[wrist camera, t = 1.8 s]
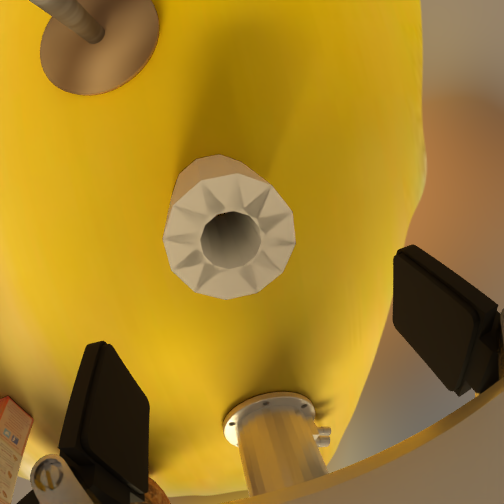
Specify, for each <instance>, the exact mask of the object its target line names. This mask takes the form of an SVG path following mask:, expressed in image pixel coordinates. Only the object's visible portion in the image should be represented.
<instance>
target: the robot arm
mask: <svg viewBox="0 0 504 504" xmlns="http://www.w3.org/2000/svg"><path fill="white" fill-rule="evenodd" d="M497 307H498V304H496V303H495V302H494V301H492V300H491V299H490V298H488V297H487V296H486V295H485V294H483V293H482V292H481V291H479V290H478V289H477V288H475V287H474V286H473V285H471V284H470V283H468V282H467V281H466V280H464V279H463V278H462V277H460V276H459V275H458V274H456V273H455V272H453V271H452V270H450V269H449V268H447V267H446V266H445V265H444V264H442V263H441V262H439V261H438V260H436V259H435V258H433V257H432V256H431V255H429V254H428V253H426V252H425V251H423V250H422V249H420V248H419V247H417V246H416V245H409V246H407V247H404V248H401V249H399V250H398V251H397V254H396V255H395V256H394V259H393V323H394V326H395V328H396V329H397V330H398V332H399V333H400V334H401V335H402V336H403V337H404V338H405V339H406V341H407V342H408V343H409V344H410V345H411V346H412V347H413V349H414V350H415V351H416V352H417V353H418V354H419V356H420V357H421V358H422V359H423V360H424V361H425V363H427V365H428V366H429V367H430V368H431V370H432V371H433V372H434V373H435V374H436V376H437V377H438V378H439V379H440V380H441V382H442V383H443V384H444V385H445V386H446V388H447V389H448V390H450V391H454V392H455V393H456V394H457V395H458V396H461V395H463V394H464V393H465V392H467V391H468V390H470V389H471V387H472V388H473V390H474V391H475V398H474V399H473V400H471V401H469V402H468V403H467V404H465V405H463V406H462V407H461V408H459V409H457V410H456V411H454V412H453V413H451V414H449V415H448V416H446V417H445V418H443V419H441V420H440V421H438V422H436V423H435V424H433V425H431V426H430V427H428V428H426V429H424V430H423V431H421V432H419V433H417V434H415V435H413V436H412V437H410V438H408V439H406V440H404V441H402V442H400V443H398V444H396V445H395V446H392V447H390V448H388V449H386V450H384V451H382V452H380V453H378V454H375V455H373V456H371V457H369V458H366V459H364V460H362V461H360V462H357V463H355V464H352V465H350V466H348V467H345V468H343V469H340V470H337V471H335V472H332V473H328V470H327V468H326V466H325V463H324V461H323V458H322V456H321V454H320V451H319V449H318V447H327V446H328V445H329V444H330V437H329V435H330V434H331V428H330V427H317V426H316V425H315V423H314V419H315V409H314V407H313V404H312V403H311V401H310V400H309V399H308V398H307V397H305V396H303V395H301V394H297V393H293V392H273V393H267V394H263V395H259V396H256V397H253V398H251V399H248V400H246V401H244V402H243V403H241V404H239V405H238V406H236V407H235V408H234V409H232V410H231V411H230V412H229V413H228V415H227V416H226V418H225V419H224V423H223V431H224V436H225V438H226V439H227V441H229V442H230V443H231V444H233V445H234V446H237V447H239V452H240V456H241V461H242V465H243V470H244V474H245V479H246V483H247V487H248V492H249V496H250V497H249V498H244V499H239V500H234V501H229V502H224V503H219V504H504V309H503V310H502V312H501V314H500V313H499V312H498V311H497ZM149 410H150V406H149V402H148V399H147V397H146V396H145V394H144V393H143V391H142V390H141V389H140V387H139V386H138V384H137V383H136V381H135V380H134V378H133V377H132V375H131V374H130V372H129V371H128V369H127V368H126V366H125V365H124V363H123V362H122V360H121V359H120V357H119V356H118V354H117V352H116V351H115V349H114V348H113V346H112V345H111V344H107V343H106V342H104V341H100V342H96V343H92V344H88V345H87V346H86V348H85V351H84V354H83V357H82V361H81V364H80V367H79V370H78V373H77V377H76V380H75V383H74V387H73V390H72V394H71V397H70V401H69V405H68V409H67V412H66V416H65V420H64V424H63V428H62V433H61V437H60V441H59V446H58V448H59V449H60V455H59V456H58V455H56V454H49V455H45V456H44V457H42V458H40V459H39V460H38V461H37V462H36V463H35V465H34V466H33V468H32V471H31V474H30V482H31V486H32V488H33V490H32V491H30V492H29V493H28V494H27V495H26V496H25V497H24V498H23V499H21V500H20V501H19V502H18V503H17V504H130V503H131V502H145V493H147V492H148V489H149V483H148V444H149Z"/></svg>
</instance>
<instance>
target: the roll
mask: <svg viewBox="0 0 504 504" xmlns="http://www.w3.org/2000/svg"><path fill="white" fill-rule="evenodd" d="M226 212H227V213H226ZM221 213H226V214H225V215H221V216H216V215H217V214H221ZM215 216H216V217H215ZM163 242H164V245H165V249H166V253H167V256H168V260H169V264H170V267H171V271H173V272H174V273H175V274H176V275H177V276H178V277H179V278H180V279H181V280H182V281H183V282H184V283H185V284H187V285H188V286H189V287H190V288H191V289H192V290H193V291H194V292H196V293H200V294H204V295H208V296H212V297H216V298H220V299H225V300H227V299H232V298H236V297H241V296H245V295H250V294H254V293H258V292H259V291H260V290H262V289H263V288H264V287H265V286H267V285H268V284H269V283H270V282H272V281H273V280H274V279H275V278H277V277H278V276H279V275H280V274H282V273H283V271H284V269H285V266H286V264H287V262H288V260H289V258H290V255H291V253H292V251H293V249H294V246H295V244H296V241H295V231H294V222H293V212H292V210H291V209H290V208H289V207H288V205H287V204H286V203H285V201H284V200H283V199H282V198H281V196H280V195H279V194H278V193H277V191H276V190H275V189H274V188H273V186H272V185H271V184H270V183H268V182H267V181H266V180H264V179H263V178H262V177H261V176H259V175H258V174H257V173H255V172H254V171H253V170H251V169H250V168H249V167H247V166H246V165H245V164H243V163H242V162H240V161H237V160H235V159H232V158H229V157H226V156H223V155H220V154H219V155H213V156H208V157H203V158H198V159H196V160H195V161H194V162H192V163H191V164H190V165H189V166H188V167H187V168H185V169H184V170H183V171H182V172H181V173H180V174H179V176H178V179H177V182H176V185H175V188H174V191H173V194H172V197H171V201H170V206H169V210H168V215H167V220H166V224H165V229H164V234H163Z"/></svg>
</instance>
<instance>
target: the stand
mask: <svg viewBox="0 0 504 504" xmlns="http://www.w3.org/2000/svg"><path fill="white" fill-rule="evenodd" d="M29 1H31V2H32V3H34V4H35V5H37V6H38V7H40V8H41V9H42V10H44V11H45V12H47V13H48V14H50V15H51V16H52V18H51V19H50V21H49V23H48V24H47V26H46V28H45V31H44V34H43V37H42V41H41V47H40V59H41V64H42V67H43V70H44V72H45V74H46V76H47V77H48V79H49V80H50V81H51V82H52V83H53V84H54V85H55V86H57V87H58V88H60V89H62V90H64V91H66V92H70V93H74V94H79V95H98V94H103V93H107V92H109V91H112V90H114V89H116V88H118V87H121V86H122V85H124V84H125V83H127V82H128V81H130V80H131V79H132V78H134V77H135V76H136V75H137V74H138V73H139V72H140V71H141V70H142V69H143V67H144V66H145V65H146V64H147V62H148V61H149V59H150V58H151V56H152V54H153V52H154V50H155V47H156V45H157V41H158V37H159V20H158V16H157V12H156V9H155V7H154V5H153V3H152V1H151V0H29Z"/></svg>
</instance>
